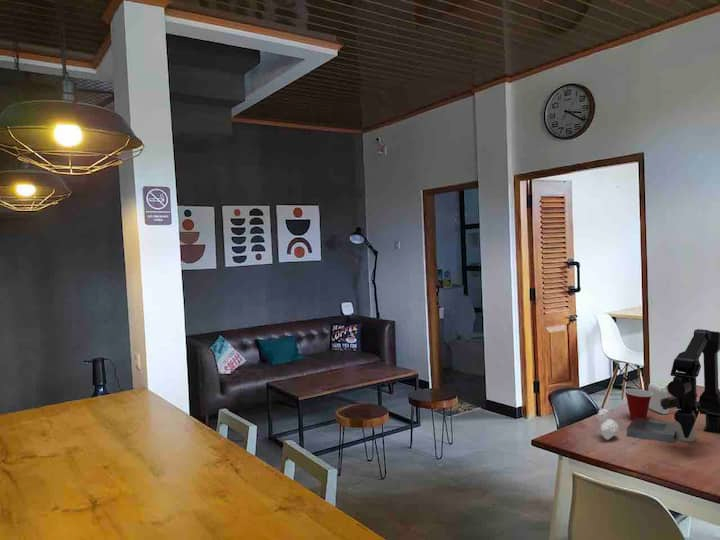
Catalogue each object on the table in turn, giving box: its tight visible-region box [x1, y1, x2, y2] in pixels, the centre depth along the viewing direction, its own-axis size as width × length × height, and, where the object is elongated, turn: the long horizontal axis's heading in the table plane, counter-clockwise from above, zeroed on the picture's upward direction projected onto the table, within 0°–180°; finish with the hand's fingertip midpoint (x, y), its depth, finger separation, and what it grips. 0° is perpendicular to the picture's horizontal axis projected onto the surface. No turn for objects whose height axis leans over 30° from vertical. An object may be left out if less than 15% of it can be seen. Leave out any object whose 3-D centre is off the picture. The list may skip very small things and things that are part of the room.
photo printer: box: [647, 382, 670, 415], centre depth 241 cm, size 10×4×12 cm, turn 4°
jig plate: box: [626, 417, 676, 444], centre depth 214 cm, size 16×16×3 cm
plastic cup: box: [624, 388, 653, 421], centre depth 232 cm, size 11×11×12 cm
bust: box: [596, 408, 620, 440], centre depth 211 cm, size 12×8×11 cm, turn 145°
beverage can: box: [674, 408, 696, 443], centre depth 207 cm, size 6×6×12 cm
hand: (687, 434), depth 197 cm, fingers open, 9 cm apart
